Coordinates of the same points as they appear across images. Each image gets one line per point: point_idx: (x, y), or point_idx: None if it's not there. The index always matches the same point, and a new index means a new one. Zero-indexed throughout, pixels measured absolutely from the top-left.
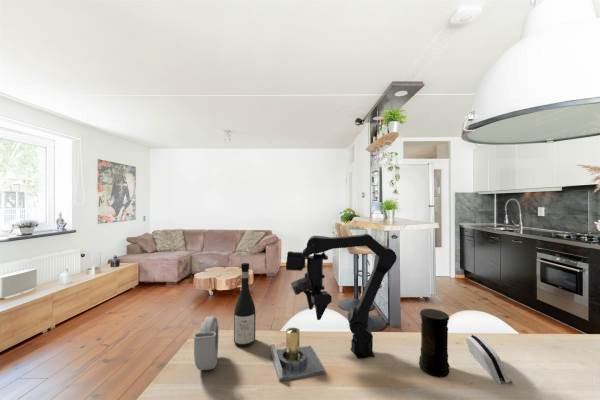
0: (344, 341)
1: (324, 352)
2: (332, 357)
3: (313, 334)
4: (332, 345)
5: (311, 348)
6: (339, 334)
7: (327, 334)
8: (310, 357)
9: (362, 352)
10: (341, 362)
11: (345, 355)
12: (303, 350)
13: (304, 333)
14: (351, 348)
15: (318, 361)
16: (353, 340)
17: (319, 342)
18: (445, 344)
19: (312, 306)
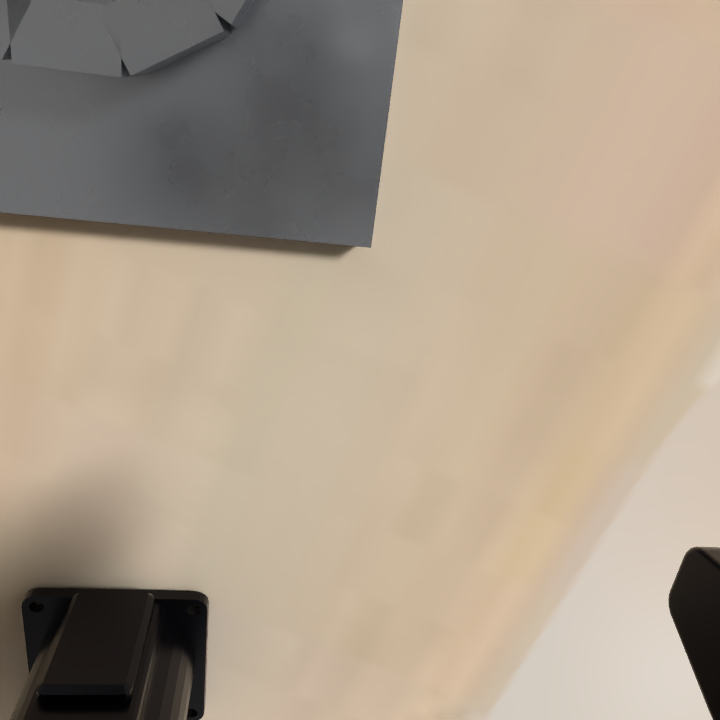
0: (363, 599)
1: (238, 353)
2: (122, 391)
3: (630, 387)
4: (338, 478)
5: (309, 234)
6: (498, 608)
7: (554, 514)
8: (113, 138)
9: (36, 663)
10: (12, 435)
11: (125, 515)
12: (144, 53)
13: (706, 301)
14: (144, 609)
15: (1, 200)
16: (91, 698)
17: (447, 382)
18: None
19: (710, 677)
